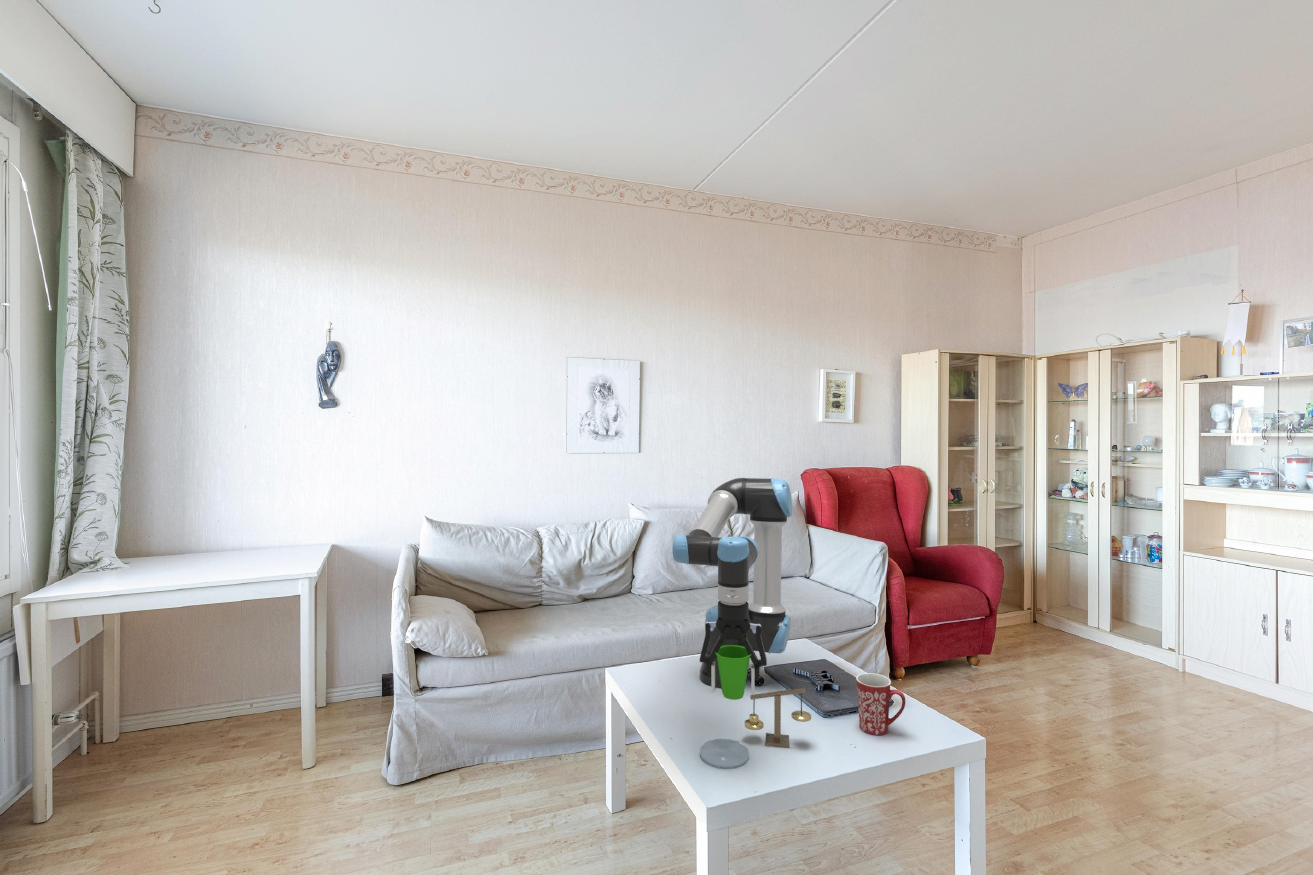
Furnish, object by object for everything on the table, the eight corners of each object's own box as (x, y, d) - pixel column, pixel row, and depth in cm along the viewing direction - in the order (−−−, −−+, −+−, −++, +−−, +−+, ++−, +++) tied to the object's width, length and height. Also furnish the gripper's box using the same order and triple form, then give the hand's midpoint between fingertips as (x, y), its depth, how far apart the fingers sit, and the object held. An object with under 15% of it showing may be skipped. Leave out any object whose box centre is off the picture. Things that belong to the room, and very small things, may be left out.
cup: (751, 704, 149) (751, 659, 148) (713, 702, 150) (713, 657, 150) (752, 688, 158) (752, 645, 157) (716, 686, 159) (716, 643, 159)
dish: (702, 740, 162) (702, 736, 162) (749, 745, 159) (749, 741, 159) (697, 765, 150) (697, 761, 150) (747, 771, 148) (747, 766, 148)
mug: (851, 730, 167) (851, 681, 166) (861, 717, 174) (861, 669, 174) (900, 744, 160) (901, 692, 159) (908, 730, 167) (909, 680, 167)
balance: (743, 743, 160) (743, 688, 160) (744, 733, 165) (744, 680, 165) (811, 749, 157) (812, 693, 157) (810, 739, 162) (810, 685, 162)
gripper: (687, 603, 151) (687, 694, 152) (778, 607, 148) (778, 701, 149) (690, 594, 159) (690, 681, 159) (777, 598, 155) (777, 687, 156)
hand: (733, 691), depth 154 cm, fingers closed on cup, 9 cm apart
